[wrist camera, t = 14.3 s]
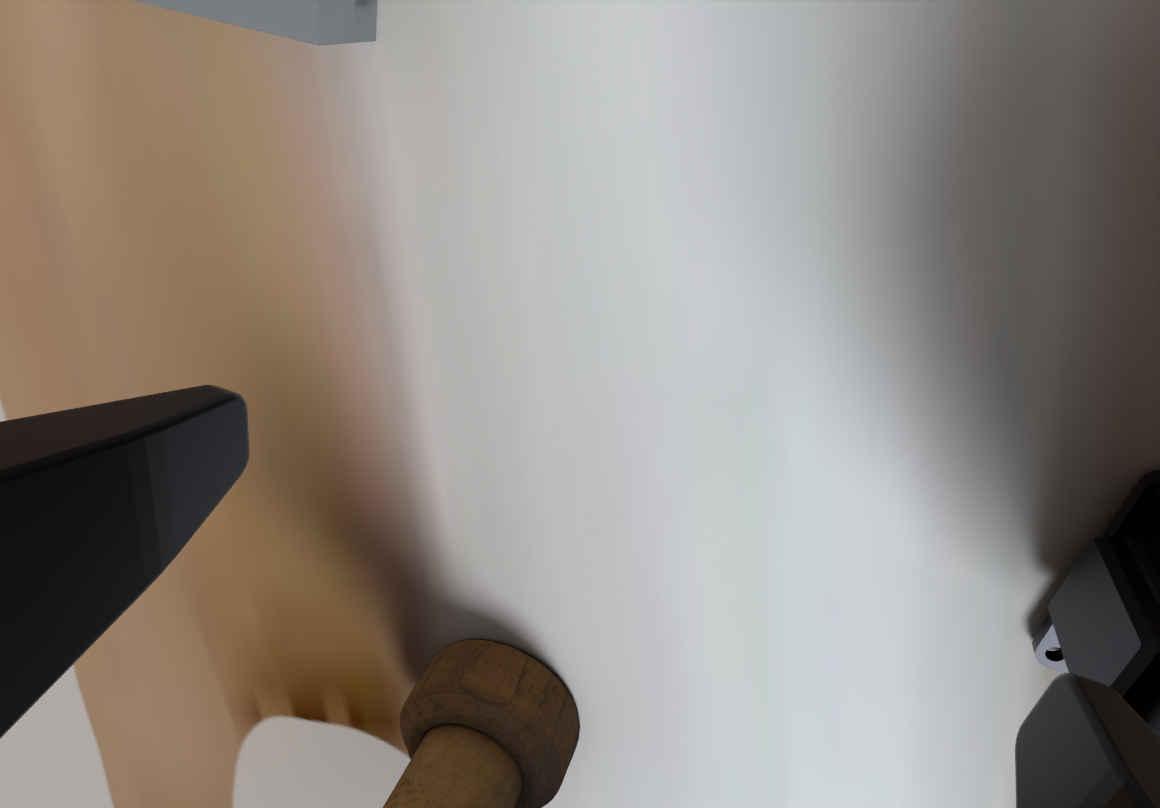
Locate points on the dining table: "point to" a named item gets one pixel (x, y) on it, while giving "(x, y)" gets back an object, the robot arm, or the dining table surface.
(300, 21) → the tray
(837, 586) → the dining table surface
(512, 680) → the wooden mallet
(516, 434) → the dining table surface
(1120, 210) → the dining table surface
